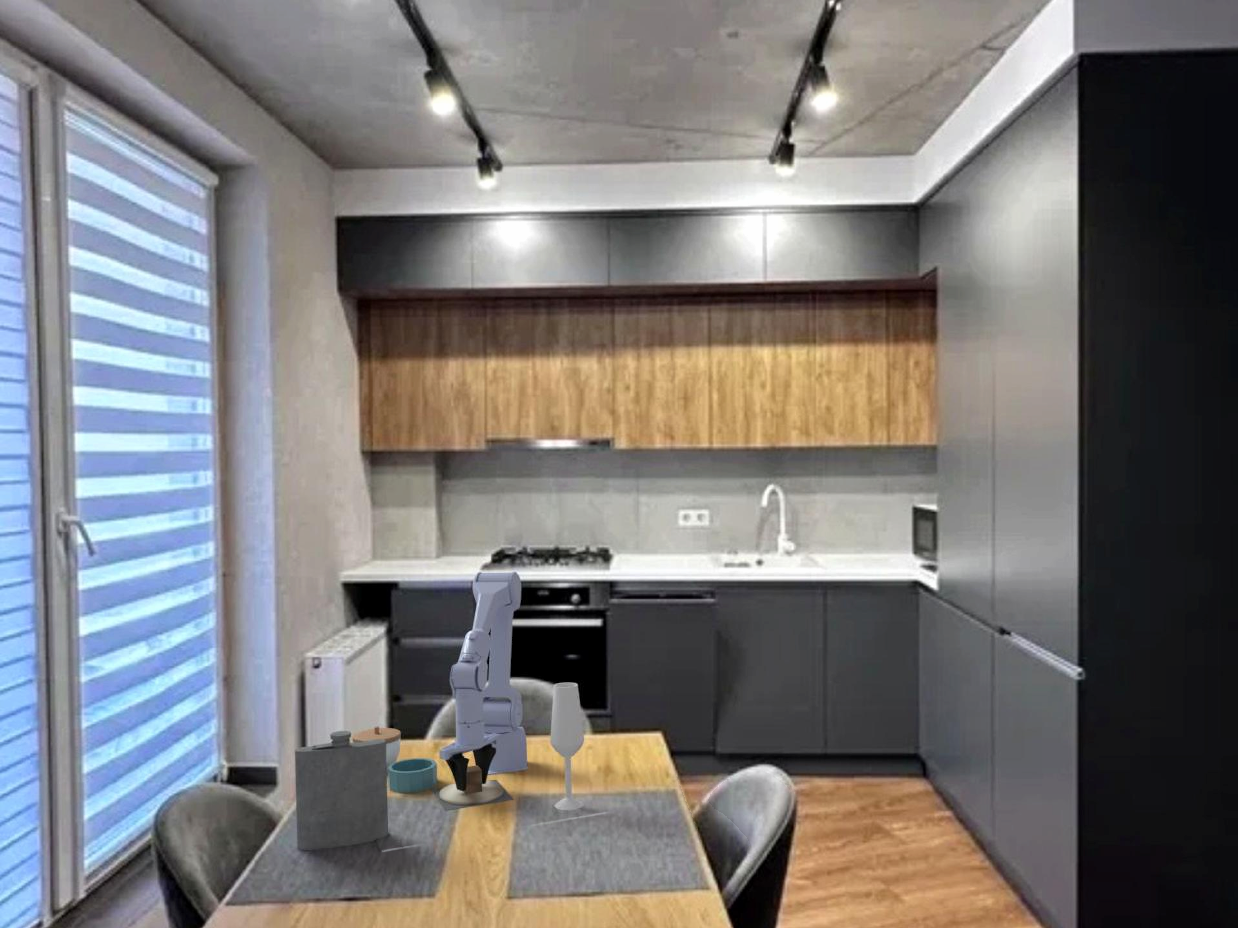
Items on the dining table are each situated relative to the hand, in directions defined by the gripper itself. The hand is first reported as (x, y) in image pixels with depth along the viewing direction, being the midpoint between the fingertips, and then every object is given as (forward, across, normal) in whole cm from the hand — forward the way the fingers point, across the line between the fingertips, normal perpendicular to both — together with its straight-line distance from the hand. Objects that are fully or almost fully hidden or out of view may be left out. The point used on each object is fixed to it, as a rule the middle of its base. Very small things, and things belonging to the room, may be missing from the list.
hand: (471, 786), depth 195 cm
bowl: (+2, +4, -15) cm, 16 cm away
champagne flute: (+2, -8, +20) cm, 22 cm away
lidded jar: (+2, +1, -33) cm, 33 cm away
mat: (+2, 0, 0) cm, 2 cm away
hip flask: (+2, +30, +1) cm, 30 cm away
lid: (+2, 0, 0) cm, 2 cm away
